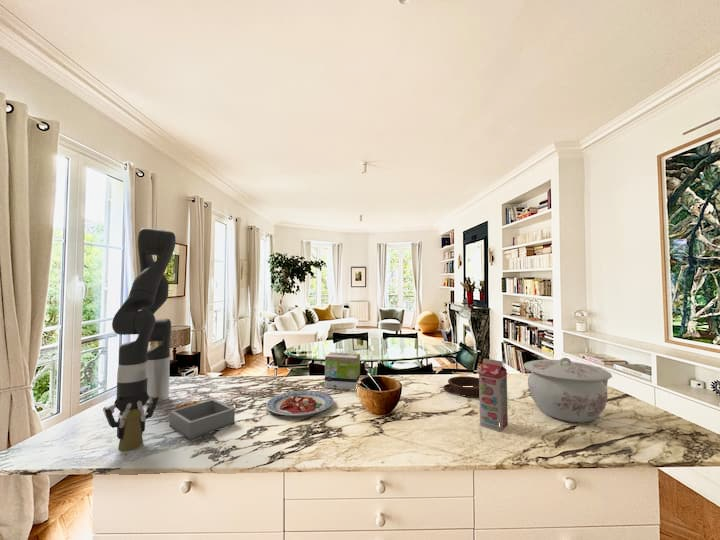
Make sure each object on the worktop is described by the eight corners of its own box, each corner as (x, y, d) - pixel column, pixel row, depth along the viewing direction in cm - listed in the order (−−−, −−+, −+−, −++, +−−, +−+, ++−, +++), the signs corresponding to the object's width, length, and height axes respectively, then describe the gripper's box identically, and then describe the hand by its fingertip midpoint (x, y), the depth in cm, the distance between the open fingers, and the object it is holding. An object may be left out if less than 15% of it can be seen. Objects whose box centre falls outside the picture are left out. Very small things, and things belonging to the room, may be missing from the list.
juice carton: (488, 419, 114) (487, 356, 115) (507, 425, 109) (506, 359, 110) (479, 425, 109) (478, 359, 110) (499, 432, 105) (498, 363, 106)
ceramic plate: (251, 414, 119) (251, 406, 120) (291, 392, 143) (291, 386, 144) (312, 425, 110) (312, 416, 110) (344, 400, 134) (344, 393, 134)
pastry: (172, 420, 115) (172, 409, 115) (167, 414, 120) (168, 404, 120) (200, 413, 121) (200, 402, 121) (195, 408, 126) (195, 398, 126)
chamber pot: (523, 421, 112) (522, 361, 113) (524, 397, 137) (523, 347, 138) (625, 439, 99) (623, 371, 100) (606, 409, 124) (605, 354, 125)
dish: (503, 399, 135) (502, 387, 135) (450, 400, 134) (450, 388, 134) (485, 386, 152) (484, 375, 152) (438, 387, 151) (438, 376, 151)
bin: (169, 426, 109) (169, 411, 109) (213, 412, 121) (213, 398, 121) (188, 439, 100) (189, 423, 100) (234, 423, 111) (234, 408, 111)
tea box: (324, 389, 148) (324, 356, 149) (329, 382, 158) (330, 351, 158) (356, 390, 145) (356, 357, 146) (360, 384, 155) (360, 352, 156)
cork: (148, 442, 98) (149, 405, 98) (127, 452, 92) (129, 413, 93) (133, 439, 100) (134, 403, 100) (113, 448, 94) (114, 410, 95)
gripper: (154, 370, 105) (153, 425, 104) (99, 381, 94) (97, 441, 93) (163, 374, 100) (162, 431, 99) (106, 386, 89) (104, 450, 88)
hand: (130, 436), depth 96 cm, fingers closed on cork, 4 cm apart
